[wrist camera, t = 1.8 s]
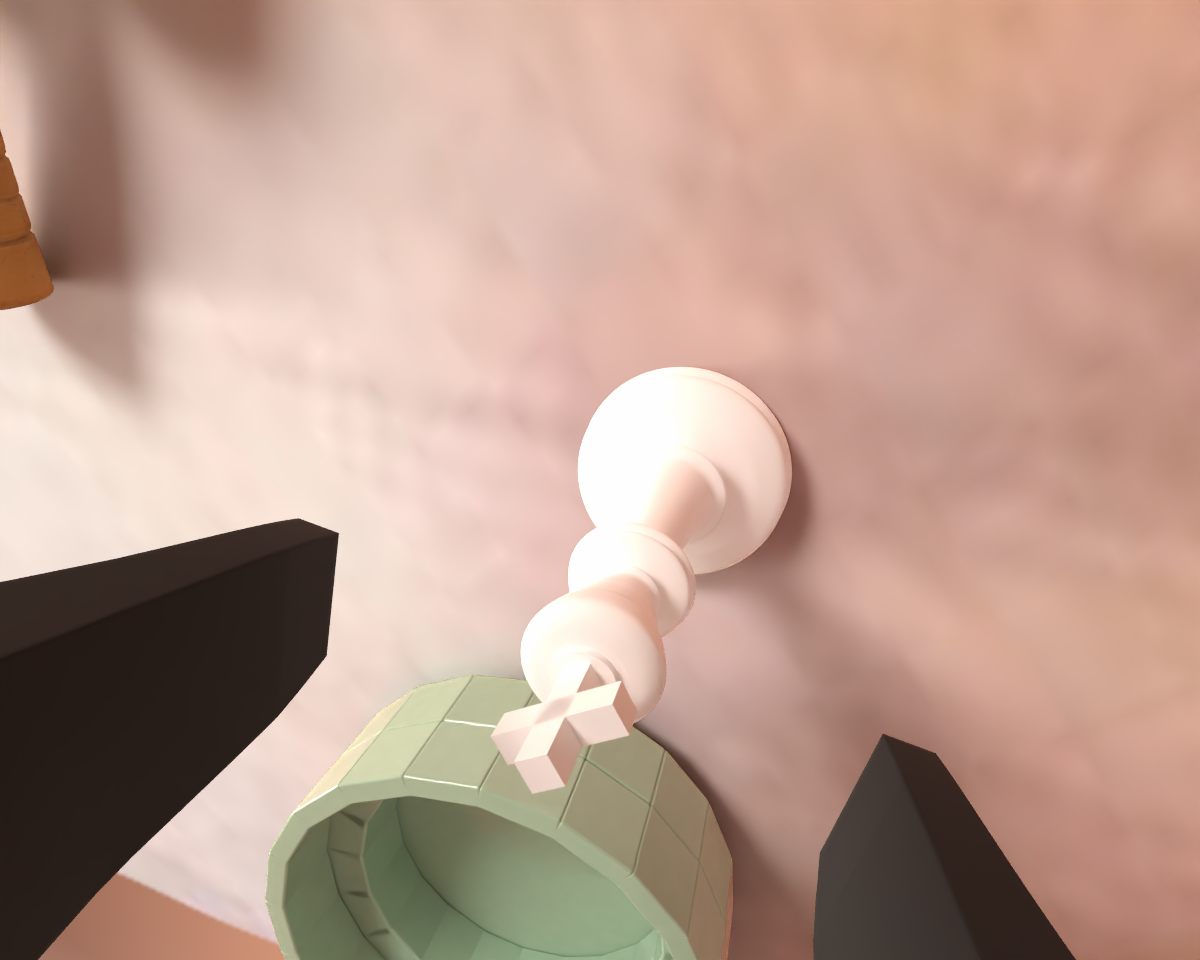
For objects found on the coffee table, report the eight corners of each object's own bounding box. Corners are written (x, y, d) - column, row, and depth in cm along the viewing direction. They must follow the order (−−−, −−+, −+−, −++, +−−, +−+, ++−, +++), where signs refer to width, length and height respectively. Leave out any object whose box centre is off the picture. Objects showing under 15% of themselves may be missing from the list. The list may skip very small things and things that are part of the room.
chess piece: (825, 526, 16) (850, 919, 7) (636, 589, 18) (468, 963, 9) (738, 329, 15) (642, 498, 6) (548, 417, 17) (261, 644, 8)
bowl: (795, 764, 19) (791, 918, 15) (668, 1031, 24) (640, 1202, 20) (381, 606, 21) (277, 703, 17) (343, 884, 25) (256, 1012, 21)
